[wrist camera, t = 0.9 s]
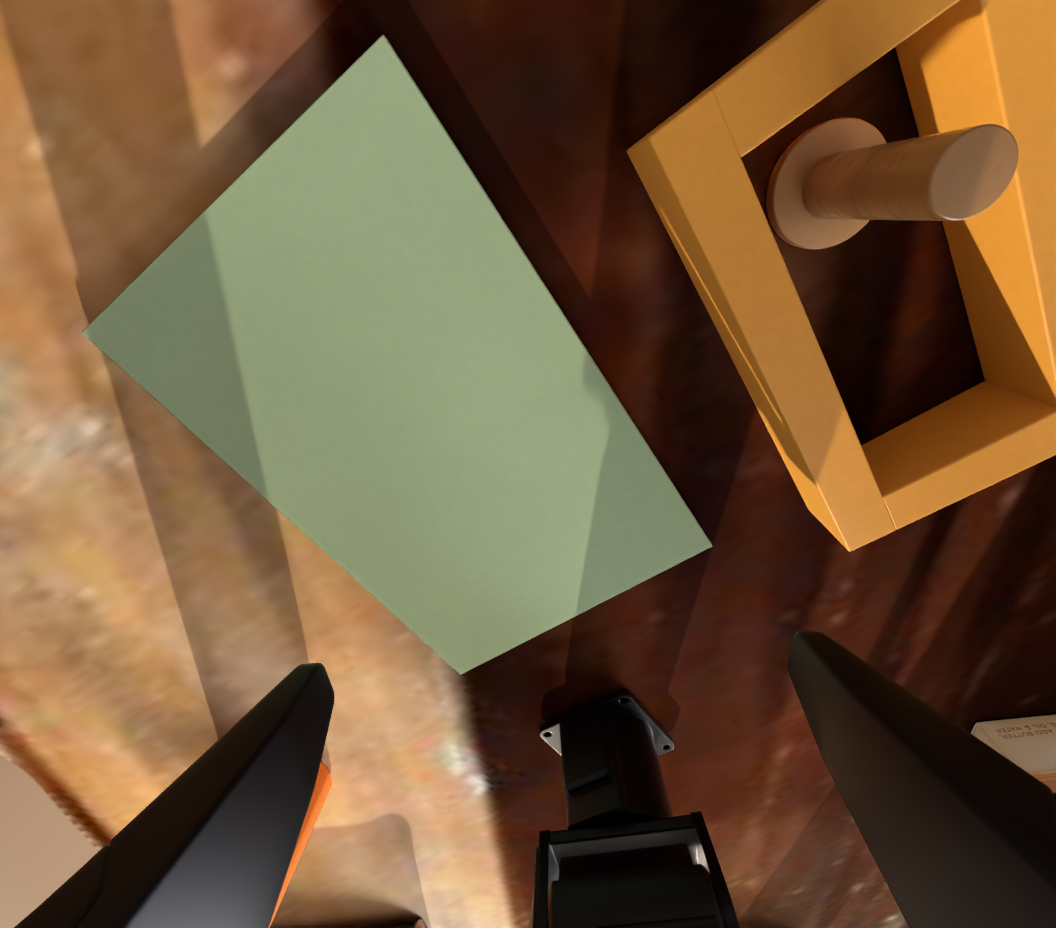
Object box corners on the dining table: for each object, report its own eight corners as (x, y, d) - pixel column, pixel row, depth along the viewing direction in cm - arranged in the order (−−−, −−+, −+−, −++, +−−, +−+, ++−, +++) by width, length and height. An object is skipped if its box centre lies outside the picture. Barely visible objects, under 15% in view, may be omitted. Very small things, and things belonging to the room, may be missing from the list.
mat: (710, 541, 25) (712, 546, 24) (461, 669, 29) (460, 675, 28) (385, 37, 15) (382, 33, 15) (88, 330, 19) (80, 332, 19)
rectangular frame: (1042, 391, 21) (1129, 421, 18) (807, 509, 24) (849, 552, 21) (939, -92, 14) (1051, -175, 11) (625, 150, 17) (648, 136, 14)
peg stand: (894, 203, 18) (1078, 198, 12) (789, 270, 19) (910, 296, 13) (860, 91, 16) (1052, 21, 10) (747, 171, 17) (864, 149, 11)
